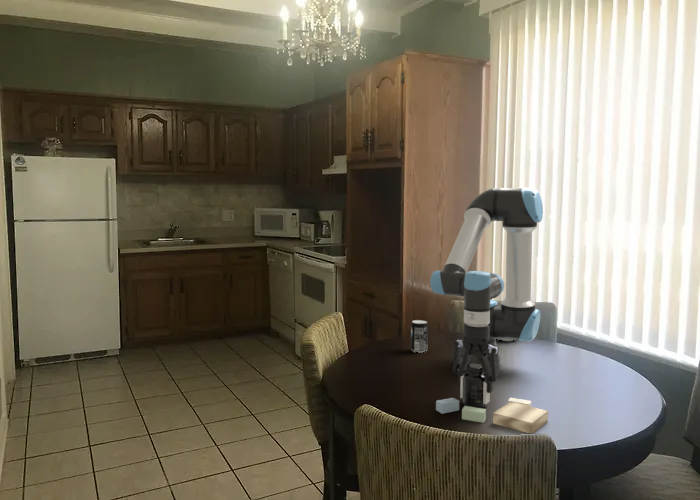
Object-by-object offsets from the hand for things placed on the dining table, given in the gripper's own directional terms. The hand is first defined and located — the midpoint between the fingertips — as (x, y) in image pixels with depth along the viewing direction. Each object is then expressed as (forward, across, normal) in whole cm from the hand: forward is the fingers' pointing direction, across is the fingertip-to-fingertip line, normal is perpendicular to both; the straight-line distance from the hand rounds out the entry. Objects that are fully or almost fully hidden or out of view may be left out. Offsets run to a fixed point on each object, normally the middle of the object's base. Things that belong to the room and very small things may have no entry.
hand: (474, 399), depth 170 cm
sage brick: (+2, +5, -10) cm, 11 cm away
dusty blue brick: (+2, -4, -9) cm, 10 cm away
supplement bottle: (+2, 0, 0) cm, 2 cm away
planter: (+2, -27, +79) cm, 84 cm away
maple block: (+2, +16, -4) cm, 17 cm away
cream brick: (+2, +12, +4) cm, 13 cm away
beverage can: (+2, -45, +39) cm, 60 cm away
